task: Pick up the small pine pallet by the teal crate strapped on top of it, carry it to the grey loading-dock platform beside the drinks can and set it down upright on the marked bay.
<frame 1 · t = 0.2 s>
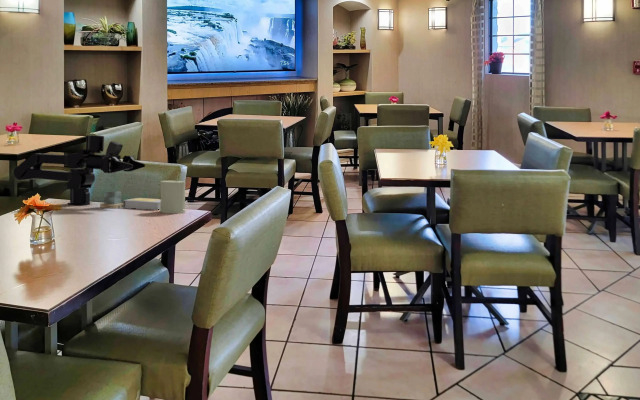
hand: (138, 165, 227), 16 cm above the table, tool horizontal, fingers open, 9 cm apart
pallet: (112, 207, 230), on the table
can: (172, 212, 222), on the table
dock: (147, 207, 232), on the table
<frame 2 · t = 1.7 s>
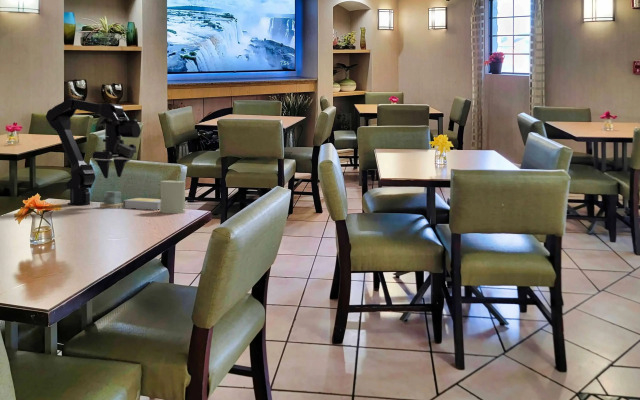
hand: (112, 177, 229), 11 cm above the table, tool pointing down, fingers open, 9 cm apart
nothing on the table moved.
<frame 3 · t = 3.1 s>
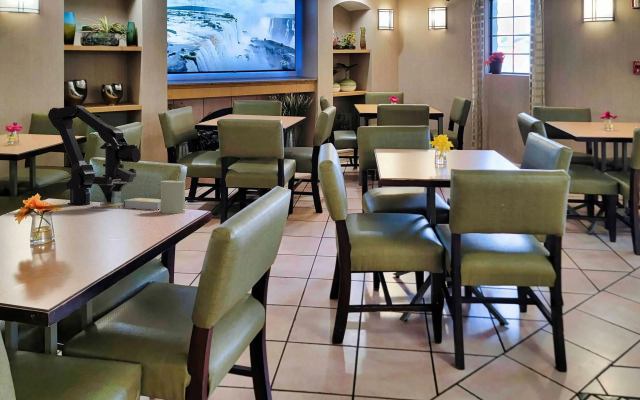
hand: (112, 201, 229), 2 cm above the table, tool pointing down, fingers closed on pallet, 4 cm apart
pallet: (112, 207, 230), on the table, touching gripper
everything else where it was.
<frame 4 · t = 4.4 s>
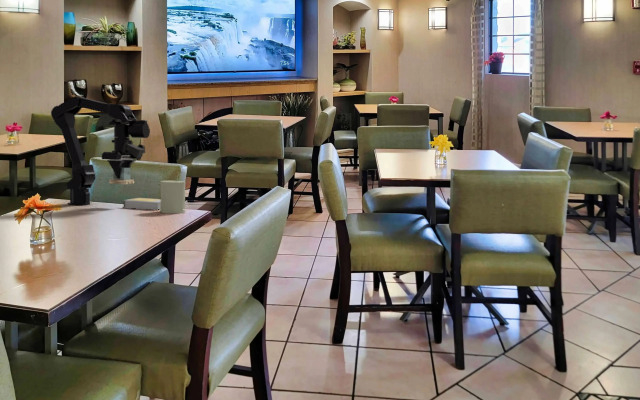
hand: (122, 178, 229), 11 cm above the table, tool pointing down, fingers closed on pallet, 4 cm apart
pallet: (121, 183, 229), point 9 cm above the table, touching gripper
everything else where it was.
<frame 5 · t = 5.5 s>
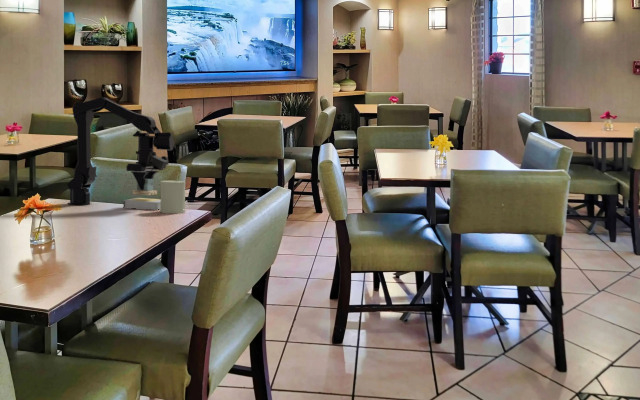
hand: (145, 189, 232), 7 cm above the table, tool pointing down, fingers closed on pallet, 4 cm apart
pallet: (145, 194, 232), point 5 cm above the table, touching gripper
everything else where it was.
when the fingers open (6 cm above the table, at t = 6.0 s): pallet drops 1 cm, resting on dock.
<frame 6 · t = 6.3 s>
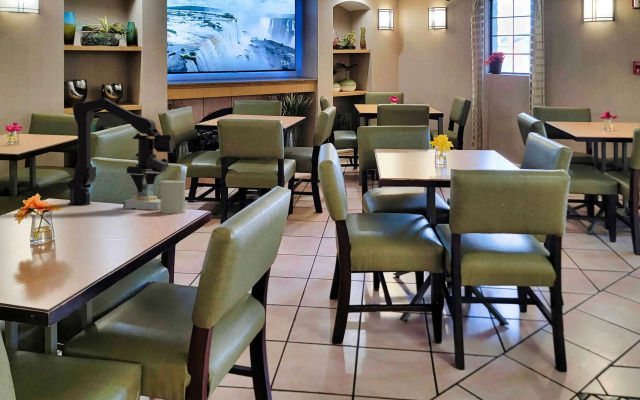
hand: (145, 191, 232), 6 cm above the table, tool pointing down, fingers open, 7 cm apart
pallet: (145, 199, 232), point 3 cm above the table, touching dock
everything else where it was.
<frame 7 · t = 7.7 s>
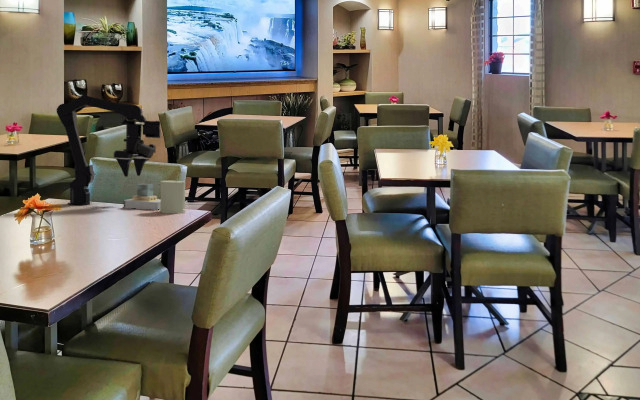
hand: (132, 176, 236), 12 cm above the table, tool pointing down, fingers open, 9 cm apart
nothing on the table moved.
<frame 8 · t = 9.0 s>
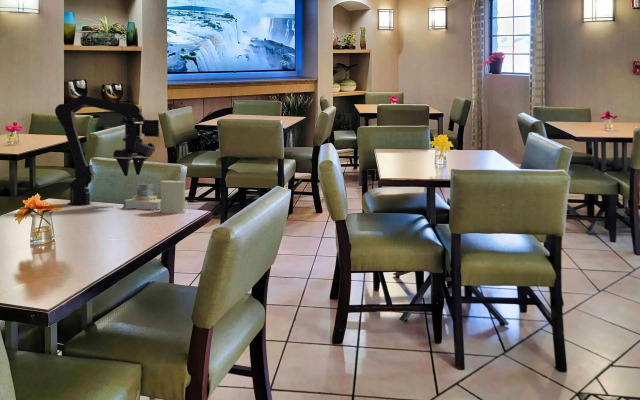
hand: (132, 175, 237), 12 cm above the table, tool pointing down, fingers open, 9 cm apart
nothing on the table moved.
at the end: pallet inside the target area on the dock (1.1 cm from its centre), point 3.1 cm above the dock's base; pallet tilted 0°; the gripper is holding nothing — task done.
